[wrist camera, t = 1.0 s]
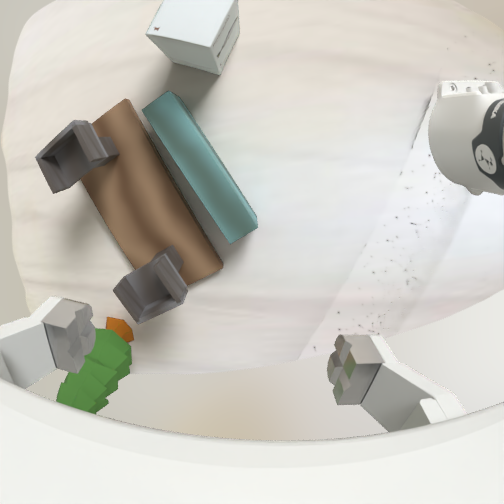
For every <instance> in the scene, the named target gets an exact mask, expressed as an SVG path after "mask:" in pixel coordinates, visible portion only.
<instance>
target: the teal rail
mask: <svg viewBox="0 0 504 504" xmlns="http://www.w3.org/2000/svg"><path fill="white" fill-rule="evenodd" d="M142 112H143V113H144V115H145V116H146V118H147V119H148V121H149V122H150V124H151V125H152V127H153V129H154V130H155V132H156V133H157V135H158V136H159V138H160V139H161V141H162V142H163V144H164V145H165V147H166V148H167V150H168V151H169V153H170V155H171V156H172V158H173V159H174V161H175V162H176V164H177V165H178V167H179V168H180V170H181V171H182V173H183V174H184V176H185V177H186V179H187V180H188V182H189V183H190V185H191V186H192V188H193V189H194V191H195V192H196V194H197V195H198V197H199V198H200V200H201V201H202V203H203V204H204V206H205V207H206V209H207V210H208V212H209V213H210V215H211V216H212V218H213V219H214V221H215V222H216V224H217V225H218V227H219V228H220V230H221V231H222V233H223V234H224V236H225V237H226V239H227V240H228V242H229V243H230V244H231V243H233V242H235V241H236V240H238V239H240V238H241V237H243V236H245V235H246V234H248V233H250V232H252V231H253V230H255V229H257V228H258V224H257V216H256V214H255V213H254V211H253V210H252V208H251V206H250V205H249V203H248V202H247V200H246V199H245V197H244V195H243V194H242V192H241V191H240V189H239V188H238V186H237V184H236V183H235V181H234V180H233V178H232V177H231V175H230V173H229V172H228V170H227V169H226V167H225V166H224V164H223V163H222V161H221V159H220V158H219V156H218V155H217V153H216V152H215V150H214V149H213V147H212V146H211V144H210V143H209V141H208V139H207V138H206V136H205V135H204V133H203V132H202V130H201V129H200V127H199V126H198V124H197V123H196V121H195V120H194V118H193V117H192V115H191V114H190V112H189V111H188V109H187V108H186V106H185V105H184V103H183V102H182V100H181V99H180V97H179V96H177V95H175V94H174V93H172V92H170V91H167V92H166V93H164V94H163V95H162V96H160V97H159V98H157V99H156V100H155V101H153V102H152V103H150V104H149V105H148V106H146V107H145V108H144V109H142Z"/></svg>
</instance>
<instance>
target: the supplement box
mask: <svg viewBox="0 0 504 504" xmlns="http://www.w3.org/2000/svg"><path fill="white" fill-rule="evenodd" d="M239 34H240V26H239V9H238V0H163V2H162V4H161V5H160V7H159V9H158V11H157V13H156V15H155V17H154V18H153V20H152V22H151V24H150V26H149V28H148V30H147V32H146V36H147V37H148V38H149V39H150V40H151V41H152V42H153V43H154V44H156V45H157V46H158V47H159V49H161V50H162V52H163V53H164V54H165V55H166V56H167V57H168V58H169V59H170V60H171V61H172V62H174V63H178V64H182V65H186V66H189V67H193V68H197V69H200V70H204V71H207V72H210V73H214V74H217V75H221V72H222V70H223V67H224V65H225V62H226V60H227V58H228V56H229V53H230V51H231V49H232V47H233V45H234V43H235V41H236V39H237V38H238V36H239Z"/></svg>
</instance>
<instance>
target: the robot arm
mask: <svg viewBox="0 0 504 504" xmlns="http://www.w3.org/2000/svg"><path fill="white" fill-rule="evenodd" d="M450 87H451V88H452V90H451V88H450ZM428 136H429V145H430V149H431V153H432V156H433V158H434V161H435V163H436V165H437V167H438V168H439V170H440V171H441V172H442V174H443V175H444V176H445V177H446V178H447V179H449V180H450V181H452V182H454V183H456V184H460V185H463V186H464V187H466V188H467V190H468V191H469V192H470V193H471V194H473V195H480V194H481V193H482V192H483V191H484V192H489V193H494V194H498V195H504V89H503V88H502V86H501V85H500V84H499V83H498V82H496V81H441V82H440V83H439V85H438V93H437V102H436V104H435V106H434V108H433V110H432V113H431V116H430V120H429V128H428ZM92 316H93V313H92V307H91V306H90V305H89V304H87V303H82V302H78V301H74V300H70V299H66V298H62V297H57V296H50V297H49V298H48V299H47V300H46V301H45V302H44V303H43V304H42V305H41V306H40V307H39V308H38V309H37V310H36V311H35V312H34V313H33V314H32V315H31V316H30V317H29V318H26V317H24V318H22V319H18V320H15V321H13V322H10V323H7V324H4V325H1V326H0V504H504V402H502V403H499V404H496V405H494V406H491V407H488V408H485V409H482V410H479V411H476V412H473V413H470V414H467V412H466V411H465V409H464V408H463V406H462V405H461V403H460V402H459V400H458V399H457V397H456V396H455V394H454V393H453V392H451V391H450V390H447V389H446V388H444V387H443V386H441V385H439V384H438V383H436V382H434V381H433V380H431V379H429V378H428V377H426V376H424V375H423V374H421V373H419V372H417V371H416V370H414V369H412V368H411V367H409V366H407V365H406V364H404V363H399V362H398V361H397V359H396V358H395V356H394V354H393V353H392V351H391V349H390V348H389V346H388V345H387V343H386V342H385V340H384V339H383V337H382V336H381V335H379V334H377V335H339V336H338V337H337V338H336V341H335V344H334V345H335V348H336V351H335V352H333V353H332V354H331V355H330V358H329V361H328V367H327V373H328V378H329V381H330V382H331V383H332V384H333V385H335V387H334V389H333V394H334V396H335V399H336V402H337V405H356V404H361V406H362V407H363V408H364V409H365V410H366V411H367V412H368V413H369V414H370V415H371V416H372V417H373V418H374V419H376V421H378V422H379V423H380V424H381V425H382V426H383V427H384V428H385V429H386V430H387V431H388V433H381V434H374V435H367V436H359V437H350V438H338V439H324V440H299V441H269V440H268V441H267V440H243V439H229V438H218V437H207V436H199V435H191V434H184V433H178V432H171V431H165V430H160V429H154V428H149V427H144V426H140V425H135V424H130V423H126V422H122V421H118V420H114V419H110V418H107V417H103V416H99V415H96V414H93V413H89V412H86V411H83V410H79V409H76V408H73V407H70V406H67V405H64V404H62V403H59V402H56V401H53V400H50V399H48V398H45V397H42V396H40V395H38V394H35V393H33V392H30V391H28V390H26V388H27V387H29V386H31V385H32V384H34V383H36V382H37V381H39V380H40V379H41V378H43V377H45V376H47V375H48V374H50V373H51V372H53V371H55V370H56V368H58V369H61V370H65V371H68V372H72V373H76V374H78V373H79V371H80V369H81V368H82V366H83V364H84V363H85V358H84V356H85V355H87V354H89V353H91V351H92V349H93V347H94V343H95V337H96V332H95V327H94V325H93V324H92V323H91V321H90V319H91V318H92Z"/></svg>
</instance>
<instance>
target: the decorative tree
mask: <svg viewBox="0 0 504 504" xmlns="http://www.w3.org/2000/svg"><path fill="white" fill-rule="evenodd" d="M95 332H96V337H95V343H94V347H93V349H92V351H91V353H89V354H87V355H85V356H84V358H85V363H84V364H83V366H82V368H81V369H80V371H79V373H78V374H76V373H72V372H69V373H68V375H67V377H66V379H65V382H64V383H61V385H60V388H59V392H58V395H57V400H56V402H59V403H62V404H64V405H67V406H70V407H73V408H76V409H79V410H83V411H86V412H89V413H93V414H96V412H97V411H99V410H100V409H102V408H103V407H105V406H106V405H107V404H108V400H107V399H105V398H106V397H107V396H108V395H110V394H111V393H113V392H114V391H116V390H117V389H118V380H120V379H122V378H123V377H125V376H127V375H128V374H130V369H129V366H130V365H131V364H132V358H131V346H130V345H129V344H128V342H130V341H133V340H134V337H133V333H132V329H131V328H130V327H129V326H128V325H127V323H126V322H125V321H124V320H120V319H115V318H111V317H107V322H106V329H97V328H95Z"/></svg>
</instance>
